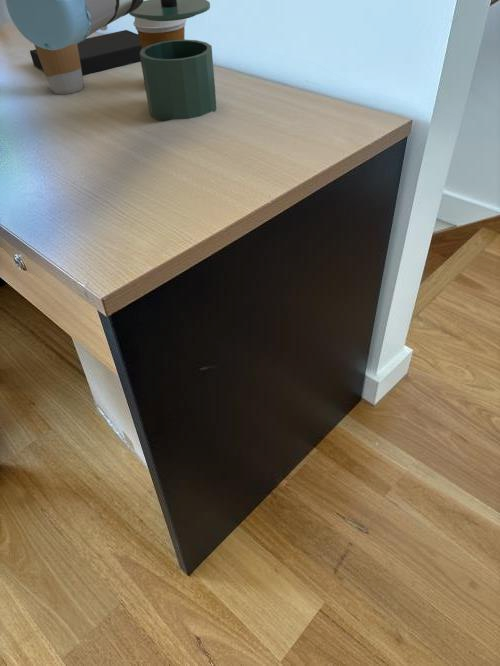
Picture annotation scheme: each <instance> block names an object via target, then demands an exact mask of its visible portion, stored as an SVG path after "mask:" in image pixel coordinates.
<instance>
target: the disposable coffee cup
mask: <svg viewBox="0 0 500 666" xmlns="http://www.w3.org/2000/svg"><path fill="white" fill-rule="evenodd" d="M132 23H133V27H135V30H136V32H137V34H138V35H139V39H140V43H141V46H142V49H143V48H145V47H146V46H148V45H151V44H155V43H158V42H164V41H170V40H186V39H185V30H186V29H185V27H186V23H187V19H182V20H174V21H151V20H146V19H141V18H136V17H134V21H133V22H132Z"/></svg>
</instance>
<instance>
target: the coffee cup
mask: <svg viewBox="0 0 500 666" xmlns="http://www.w3.org/2000/svg"><path fill="white" fill-rule="evenodd" d="M33 45H34V48H35V49H36V51H37V54H38V56H39V59H40V62H41V65H42V68H43V70H44V72H43V74H44V76H45V77H46V80H47V83H48V85H49V88H50V90H52V92H53V94H56V95H69V94H74V93H78V92H80V91H82V90H83V89H84V84H85V82H84V78H83V76H84V75H82V71H81V63H80V58H79V52H78V46H77V44H72V45H70V46H67V47H65V48H62V49H59V50H48V49H43V48H41V47H38V46H36V45H35V44H33Z"/></svg>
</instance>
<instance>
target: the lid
mask: <svg viewBox="0 0 500 666" xmlns="http://www.w3.org/2000/svg"><path fill="white" fill-rule="evenodd" d="M210 8H211V2H210V1H208V0H143V2H142V4H141V5H140V6H139V7H138V8H137V9H136V10H134V11H132V12H130V13H129V14H128V15H130V16H131V17H134V18H135V17H136V18H141V19H146V20H151V21H174V20H182V19H186V20H187V19H190V18H193V17H195V16H197V15H201V14H204V13H206V12H207V11H209V10H210Z"/></svg>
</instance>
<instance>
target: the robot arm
mask: <svg viewBox="0 0 500 666" xmlns="http://www.w3.org/2000/svg"><path fill="white" fill-rule="evenodd" d="M143 1H144V0H5V6H6V8H7V12H8V14H9V17H10V19H11V21H12V22H13V24H14V26H15V27H16V29H17V30H18V32H20V34H21V35H22V36H23V37H24V38H25V39H26V40H27V41H29V42H30V43H31V44H33V45H34V44H35V45H36V46H38V47H41V48H43V49H48V50H59V49H62V48H65V47H67V46H70V45H72V44H78V43H80V42H81V41H84V40H85V39H86V38H89V36H92V34H94V33H96V32H97V31H99V30H100V31H106V30H108V25H109V24H111V23H114V22H115V21H117V20H118V19H120V18H122V17H125V16H127V15H130V14H129V13H130V12H132V11H134V10H136V9H137V8H138V7H139V6H140V5H141V4H142V2H143ZM35 45H34V46H35Z"/></svg>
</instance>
